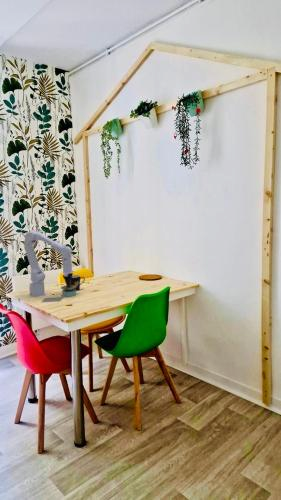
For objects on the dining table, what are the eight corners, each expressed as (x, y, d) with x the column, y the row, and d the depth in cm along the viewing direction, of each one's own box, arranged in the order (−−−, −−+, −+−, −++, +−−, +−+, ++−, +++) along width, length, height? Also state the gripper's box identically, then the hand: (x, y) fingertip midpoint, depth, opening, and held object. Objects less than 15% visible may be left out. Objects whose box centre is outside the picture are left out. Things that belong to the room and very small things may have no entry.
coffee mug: (68, 292, 235) (67, 278, 234) (69, 289, 244) (68, 275, 242) (85, 290, 237) (84, 276, 236) (85, 287, 246) (84, 274, 245)
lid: (60, 290, 219) (59, 282, 219) (62, 286, 229) (61, 279, 229) (75, 289, 221) (75, 281, 220) (76, 285, 230) (76, 278, 230)
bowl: (61, 297, 221) (60, 292, 220) (63, 294, 230) (63, 289, 229) (74, 296, 221) (74, 291, 221) (77, 293, 230) (76, 288, 230)
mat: (41, 302, 210) (41, 302, 210) (45, 298, 220) (45, 297, 220) (60, 301, 211) (60, 301, 211) (63, 297, 220) (63, 297, 220)
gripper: (71, 266, 216) (72, 287, 218) (75, 262, 230) (76, 282, 232) (60, 267, 216) (61, 287, 217) (64, 263, 230) (66, 282, 232)
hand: (68, 284), depth 225 cm, fingers closed on lid, 3 cm apart
